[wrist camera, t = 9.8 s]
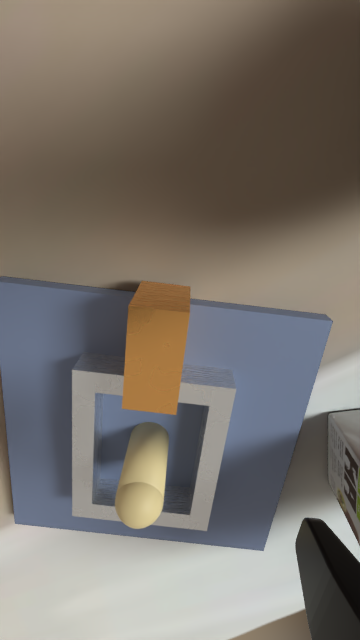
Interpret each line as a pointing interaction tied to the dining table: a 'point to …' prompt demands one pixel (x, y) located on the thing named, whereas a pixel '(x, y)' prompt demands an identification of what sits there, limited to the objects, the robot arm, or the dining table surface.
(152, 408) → the grey frame with tab
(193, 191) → the dining table surface
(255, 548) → the keeper
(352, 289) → the dining table surface
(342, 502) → the coffee box
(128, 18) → the dining table surface
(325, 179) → the dining table surface
